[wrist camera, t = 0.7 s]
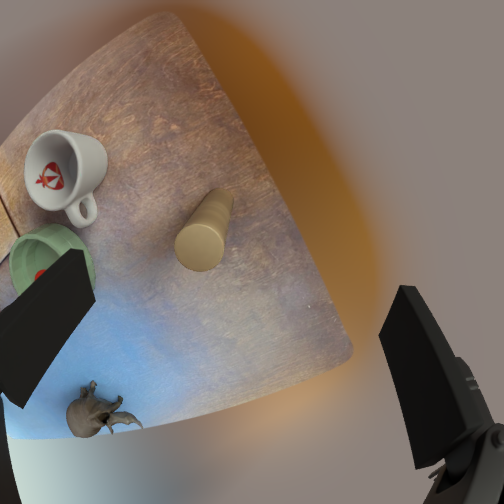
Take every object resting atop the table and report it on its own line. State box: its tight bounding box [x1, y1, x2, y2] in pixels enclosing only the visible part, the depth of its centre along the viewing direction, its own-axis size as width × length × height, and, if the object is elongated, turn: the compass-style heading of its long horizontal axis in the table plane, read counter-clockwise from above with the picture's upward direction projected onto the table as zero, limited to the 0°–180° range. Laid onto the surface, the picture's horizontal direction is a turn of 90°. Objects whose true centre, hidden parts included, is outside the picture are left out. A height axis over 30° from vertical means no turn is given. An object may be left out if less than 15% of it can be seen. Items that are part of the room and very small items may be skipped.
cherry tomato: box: [35, 269, 46, 280], centre depth 31 cm, size 3×3×3 cm
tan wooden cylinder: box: [174, 188, 233, 272], centre depth 24 cm, size 3×3×15 cm
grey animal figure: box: [66, 381, 143, 438], centre depth 38 cm, size 8×14×15 cm
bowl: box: [9, 223, 96, 296], centre depth 30 cm, size 12×12×6 cm
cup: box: [24, 130, 108, 228], centre depth 25 cm, size 11×8×8 cm
